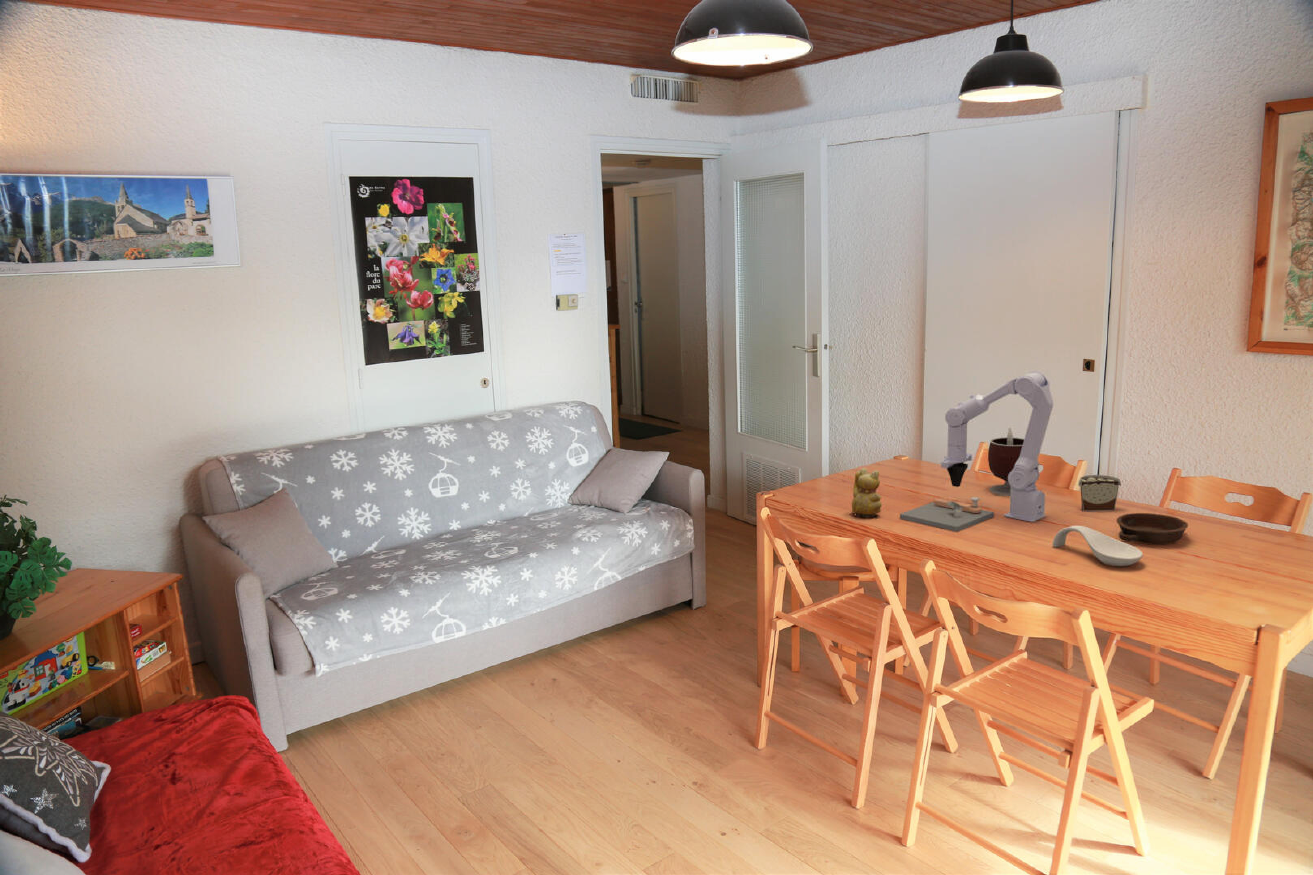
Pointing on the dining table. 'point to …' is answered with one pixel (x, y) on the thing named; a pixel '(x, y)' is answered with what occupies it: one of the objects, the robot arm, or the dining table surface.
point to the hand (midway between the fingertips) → (956, 486)
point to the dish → (1151, 528)
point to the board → (944, 517)
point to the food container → (1099, 492)
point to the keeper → (956, 509)
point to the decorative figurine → (866, 493)
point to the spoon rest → (1102, 546)
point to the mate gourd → (1003, 460)
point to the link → (965, 507)
